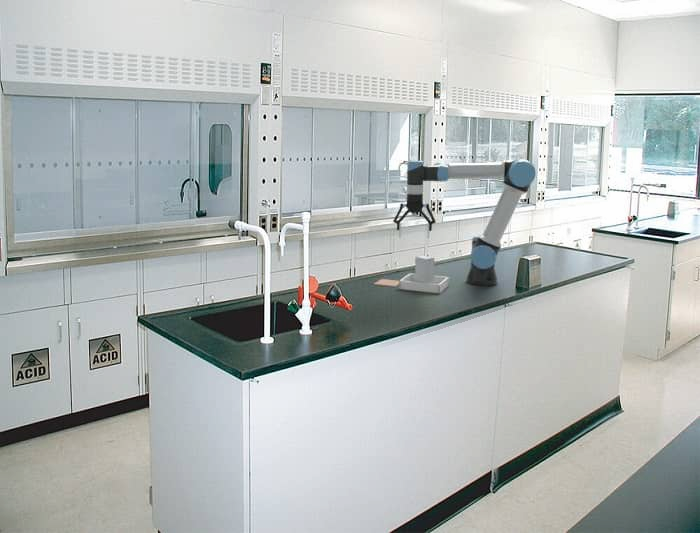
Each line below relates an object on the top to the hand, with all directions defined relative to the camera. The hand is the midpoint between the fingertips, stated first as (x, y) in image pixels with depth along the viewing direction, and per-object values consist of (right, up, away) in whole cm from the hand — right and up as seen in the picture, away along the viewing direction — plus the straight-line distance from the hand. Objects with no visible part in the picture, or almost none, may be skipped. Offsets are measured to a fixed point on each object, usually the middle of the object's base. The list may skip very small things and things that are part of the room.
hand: (414, 237), depth 335 cm
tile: (-12, -22, +6) cm, 26 cm away
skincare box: (+5, -24, 0) cm, 25 cm away
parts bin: (+5, -24, 0) cm, 24 cm away
